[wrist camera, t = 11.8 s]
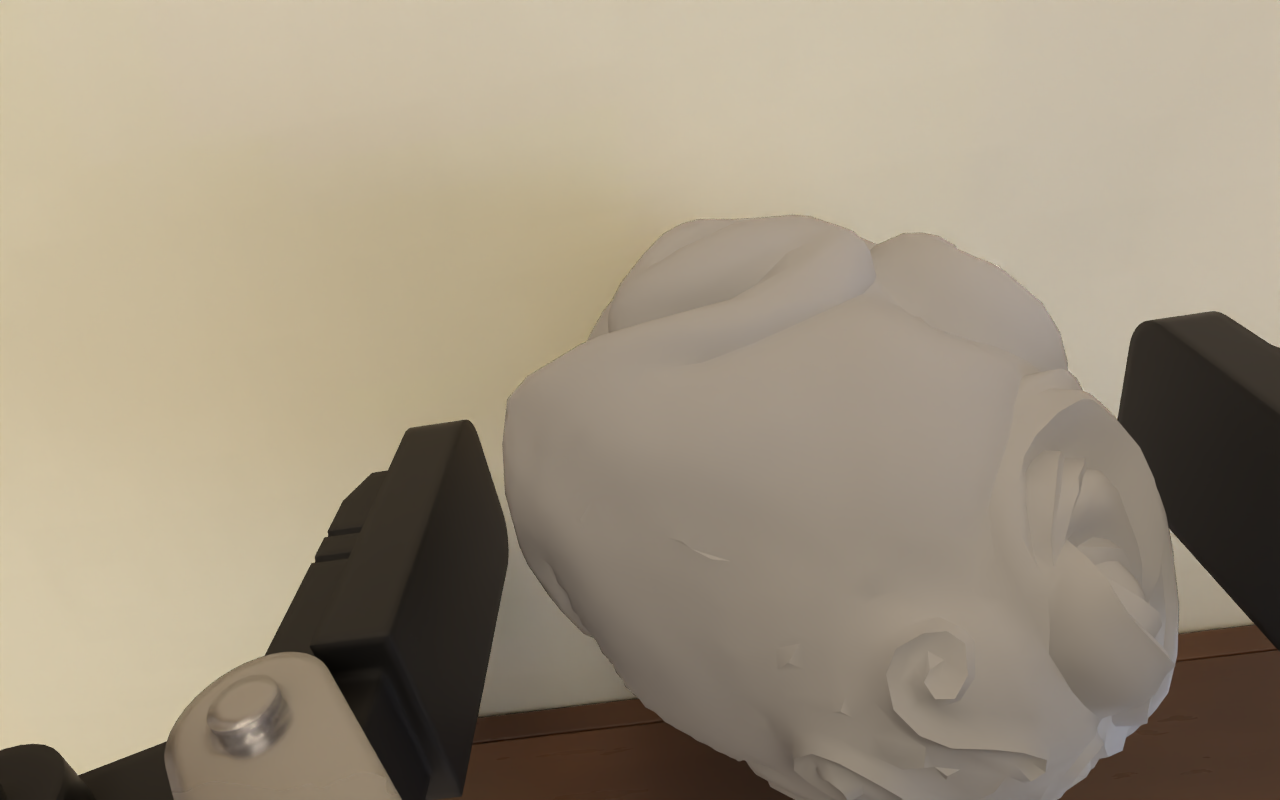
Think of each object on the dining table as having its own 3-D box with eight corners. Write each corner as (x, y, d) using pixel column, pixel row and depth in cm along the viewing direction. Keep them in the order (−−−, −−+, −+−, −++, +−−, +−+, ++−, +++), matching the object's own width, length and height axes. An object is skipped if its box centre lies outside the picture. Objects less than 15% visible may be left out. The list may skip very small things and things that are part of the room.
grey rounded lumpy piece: (842, 561, 14) (997, 1023, 8) (471, 413, 13) (325, 857, 7) (1078, 272, 12) (1569, 648, 6) (644, 36, 10) (664, 204, 4)
